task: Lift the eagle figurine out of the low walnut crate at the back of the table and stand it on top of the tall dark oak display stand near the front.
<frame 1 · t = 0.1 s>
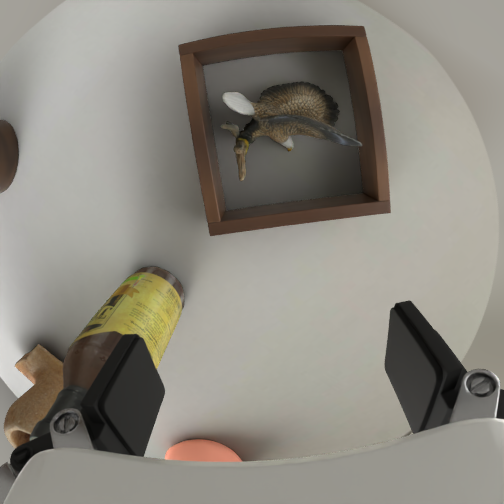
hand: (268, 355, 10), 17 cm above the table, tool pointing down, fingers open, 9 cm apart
crate: (285, 125, 23), on the table
sauce bottle: (156, 292, 29), on the table
eagle figurine: (285, 125, 23), resting in crate
teapot: (202, 455, 39), on the table
tan boot-shaped piece: (68, 374, 35), on the table
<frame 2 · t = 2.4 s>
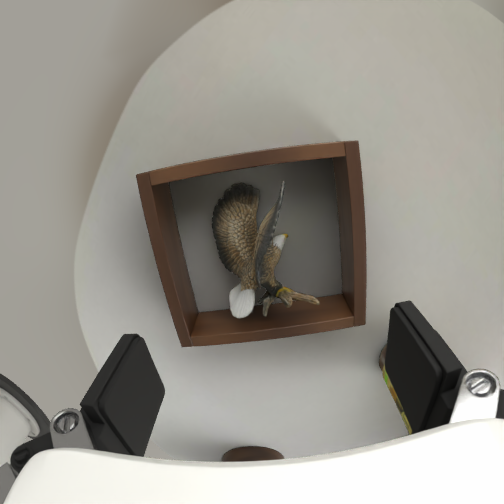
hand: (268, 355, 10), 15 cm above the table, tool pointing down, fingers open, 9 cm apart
stand: (253, 461, 35), on the table
crate: (260, 239, 24), on the table
sauce bottle: (402, 350, 28), on the table
eagle figurine: (260, 238, 25), resting in crate
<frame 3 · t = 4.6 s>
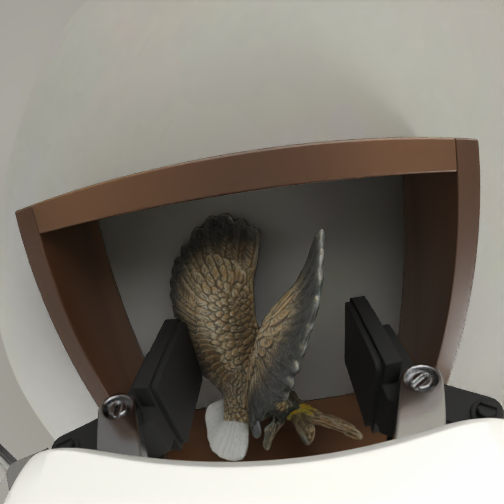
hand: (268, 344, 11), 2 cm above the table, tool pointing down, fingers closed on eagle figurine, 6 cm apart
crate: (264, 315, 13), on the table
eagle figurine: (261, 313, 13), resting in crate, touching gripper
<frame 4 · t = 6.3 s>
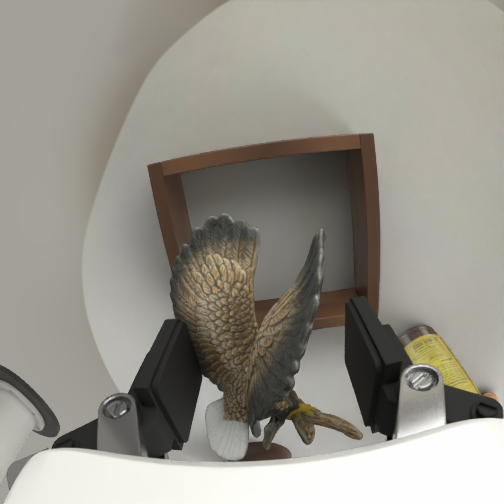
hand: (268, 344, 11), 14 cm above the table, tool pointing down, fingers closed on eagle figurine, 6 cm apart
stand: (260, 457, 36), on the table
crate: (273, 231, 24), on the table
sauce bottle: (412, 346, 28), on the table
eagle figurine: (261, 313, 13), point 12 cm above the table, touching gripper
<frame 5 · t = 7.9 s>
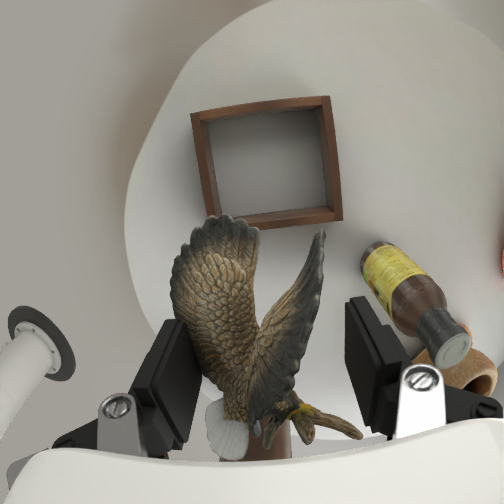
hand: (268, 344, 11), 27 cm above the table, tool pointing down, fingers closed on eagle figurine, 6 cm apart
stand: (258, 377, 46), on the table
crate: (268, 163, 35), on the table
sauce bottle: (379, 261, 39), on the table
eagle figurine: (261, 312, 13), point 25 cm above the table, touching gripper
tan boot-shaped piece: (432, 351, 44), on the table
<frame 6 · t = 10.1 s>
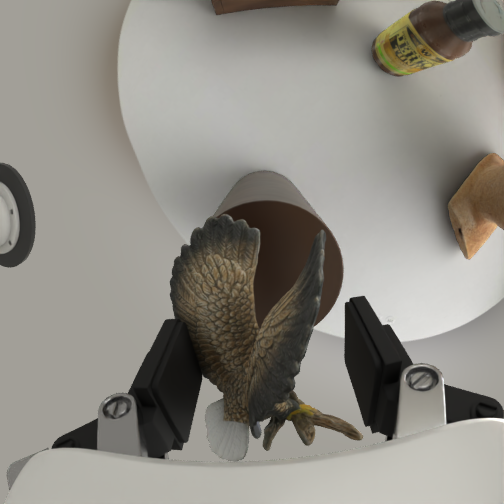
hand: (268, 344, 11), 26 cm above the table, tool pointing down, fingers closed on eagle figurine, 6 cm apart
stand: (264, 208, 36), on the table
sauce bottle: (391, 57, 29), on the table
eagle figurine: (261, 313, 13), point 24 cm above the table, touching gripper
tan boot-shaped piece: (474, 194, 34), on the table
when the fingers open (22 cm above the table, at t = 11.7 s): eagle figurine stays where it is, resting on stand.
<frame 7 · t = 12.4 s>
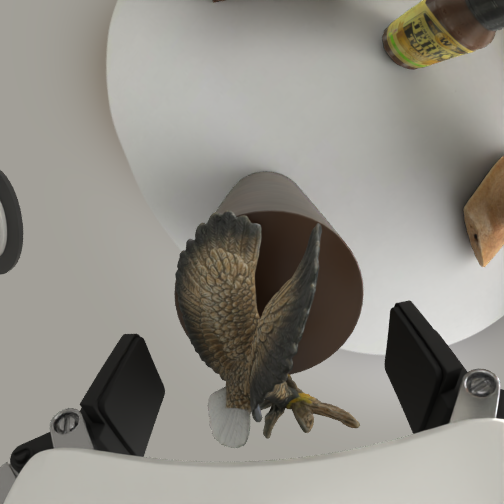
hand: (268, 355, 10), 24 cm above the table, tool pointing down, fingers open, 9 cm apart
stand: (266, 212, 33), on the table
sauce bottle: (403, 48, 25), on the table
eagle figurine: (262, 305, 14), point 20 cm above the table, touching stand
tan boot-shaped piece: (489, 197, 31), on the table
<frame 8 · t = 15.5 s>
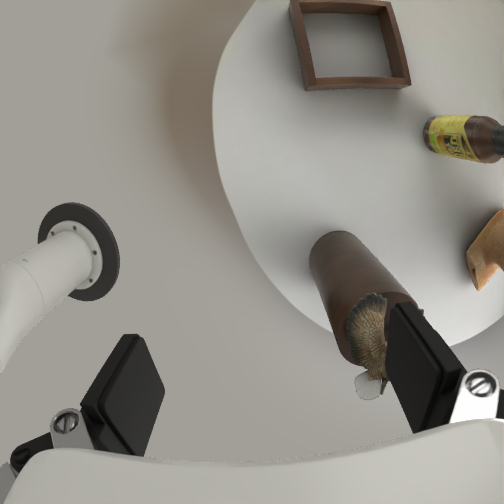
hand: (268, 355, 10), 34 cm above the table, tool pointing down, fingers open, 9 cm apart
stand: (337, 258, 46), on the table
crate: (346, 45, 34), on the table
sauce bottle: (437, 136, 38), on the table
eagle figurine: (377, 332, 27), point 20 cm above the table, touching stand
tan boot-shaped piece: (485, 240, 44), on the table
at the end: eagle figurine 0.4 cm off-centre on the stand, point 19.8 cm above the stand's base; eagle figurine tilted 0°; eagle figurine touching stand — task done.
